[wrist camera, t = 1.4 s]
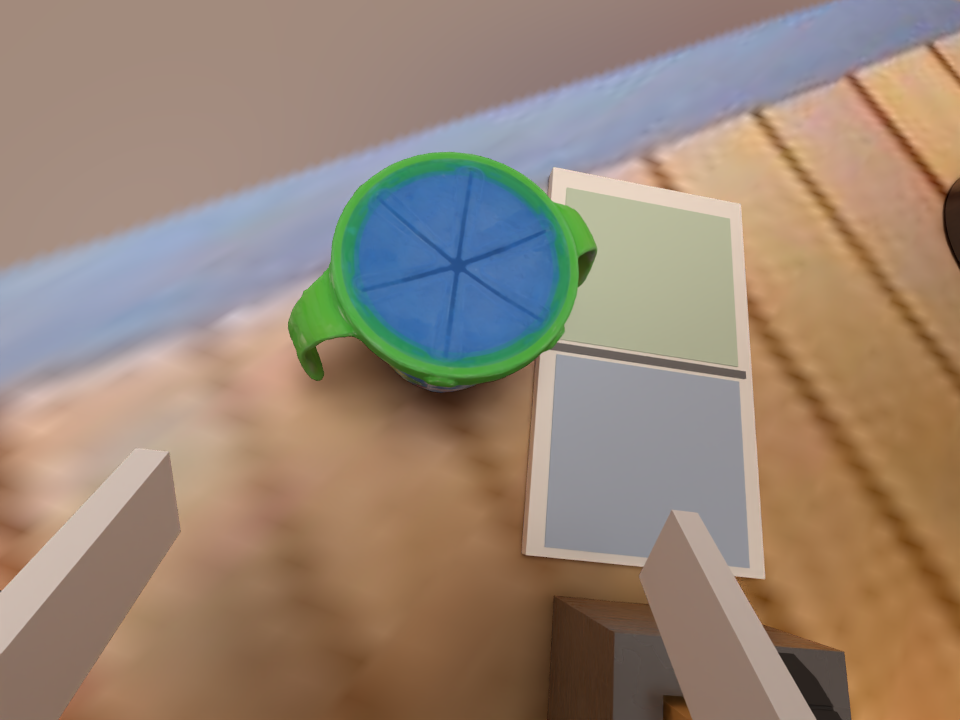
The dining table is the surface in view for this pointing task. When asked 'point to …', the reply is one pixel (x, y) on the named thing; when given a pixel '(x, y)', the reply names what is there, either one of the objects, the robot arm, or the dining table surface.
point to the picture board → (647, 384)
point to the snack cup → (447, 272)
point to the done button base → (644, 663)
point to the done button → (675, 708)
